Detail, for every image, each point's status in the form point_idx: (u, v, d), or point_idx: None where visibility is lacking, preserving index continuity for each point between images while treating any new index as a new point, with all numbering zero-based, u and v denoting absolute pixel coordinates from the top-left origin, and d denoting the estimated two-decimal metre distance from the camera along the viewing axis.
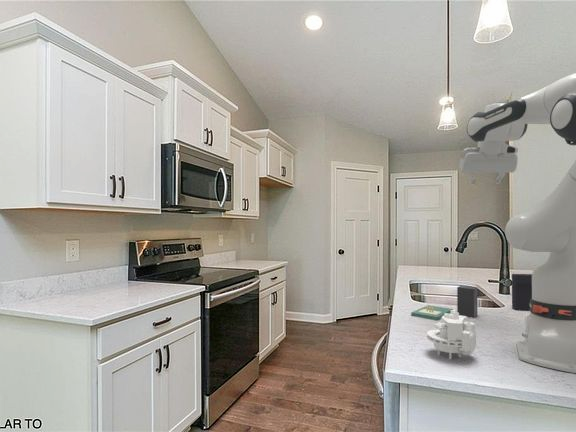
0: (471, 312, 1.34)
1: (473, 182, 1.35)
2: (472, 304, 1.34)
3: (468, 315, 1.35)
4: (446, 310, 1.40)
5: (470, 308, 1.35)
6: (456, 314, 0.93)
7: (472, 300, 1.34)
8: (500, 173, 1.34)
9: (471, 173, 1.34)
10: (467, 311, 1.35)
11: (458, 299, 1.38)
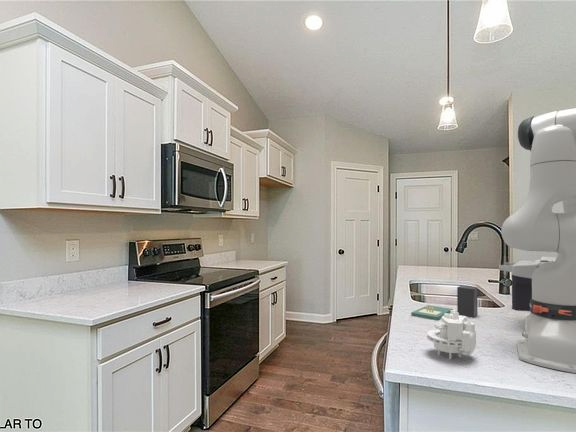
0: (471, 312, 1.34)
1: None
2: (472, 304, 1.34)
3: (468, 315, 1.35)
4: (446, 310, 1.40)
5: (470, 308, 1.35)
6: (456, 314, 0.93)
7: (472, 300, 1.34)
8: None
9: None
10: (467, 311, 1.35)
11: (458, 299, 1.38)
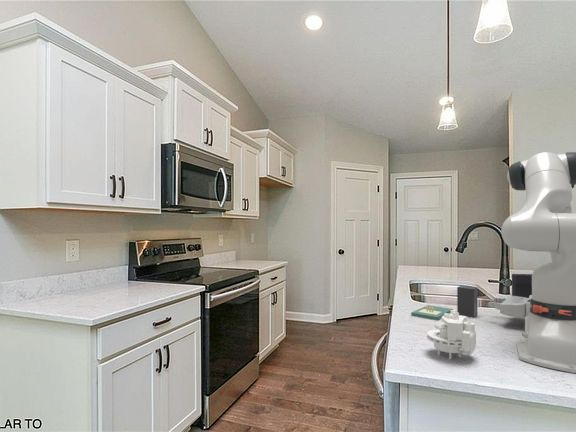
0: (471, 312, 1.34)
1: (495, 298, 1.35)
2: (472, 304, 1.34)
3: (468, 315, 1.35)
4: (446, 310, 1.40)
5: (470, 308, 1.35)
6: (456, 314, 0.93)
7: (472, 300, 1.34)
8: None
9: (507, 298, 1.34)
10: (467, 311, 1.35)
11: (458, 299, 1.38)
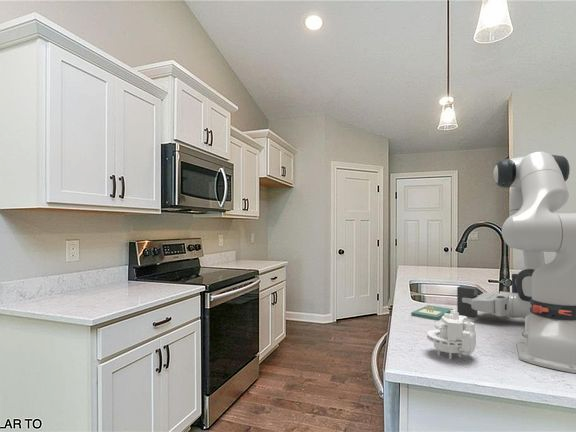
0: (471, 312, 1.34)
1: None
2: None
3: (468, 315, 1.35)
4: (446, 310, 1.40)
5: (470, 308, 1.35)
6: (456, 314, 0.93)
7: None
8: None
9: (479, 295, 1.39)
10: (467, 311, 1.35)
11: (458, 299, 1.38)
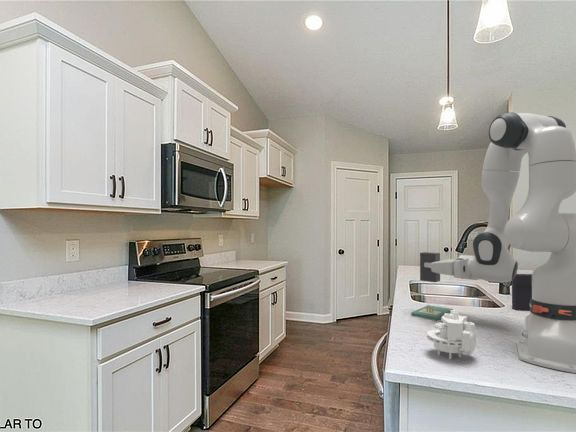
0: (433, 277, 1.35)
1: None
2: None
3: (430, 280, 1.35)
4: (446, 310, 1.40)
5: (432, 273, 1.35)
6: (456, 314, 0.93)
7: None
8: None
9: None
10: (429, 276, 1.36)
11: (421, 264, 1.38)
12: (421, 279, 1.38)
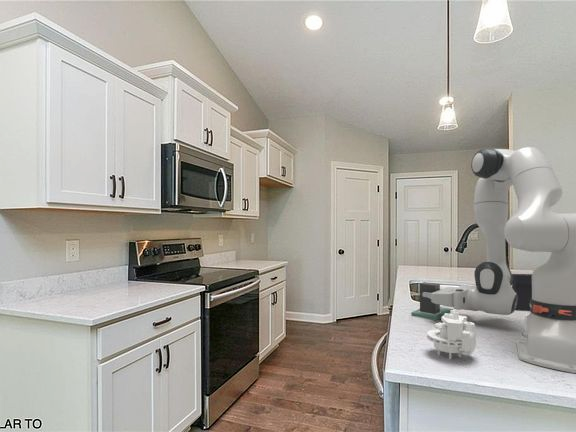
0: (433, 308, 1.34)
1: None
2: None
3: (430, 311, 1.35)
4: (446, 310, 1.40)
5: (432, 304, 1.35)
6: (456, 314, 0.93)
7: None
8: None
9: None
10: (429, 307, 1.35)
11: (420, 295, 1.38)
12: (421, 310, 1.37)
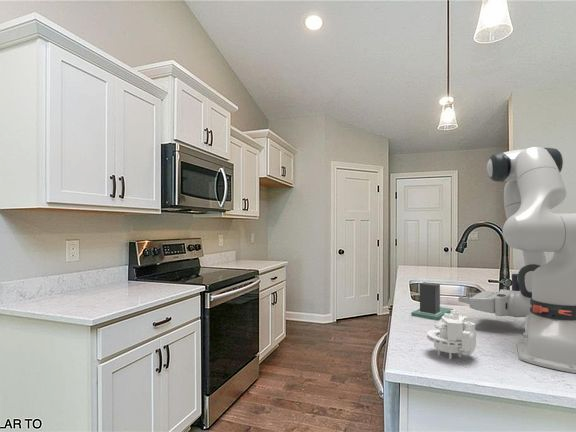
0: (433, 308, 1.34)
1: (468, 293, 1.33)
2: (433, 300, 1.34)
3: (430, 311, 1.35)
4: (446, 310, 1.40)
5: (432, 304, 1.35)
6: (456, 314, 0.93)
7: (434, 296, 1.34)
8: None
9: (479, 293, 1.31)
10: (429, 307, 1.35)
11: (420, 295, 1.38)
12: (421, 310, 1.37)
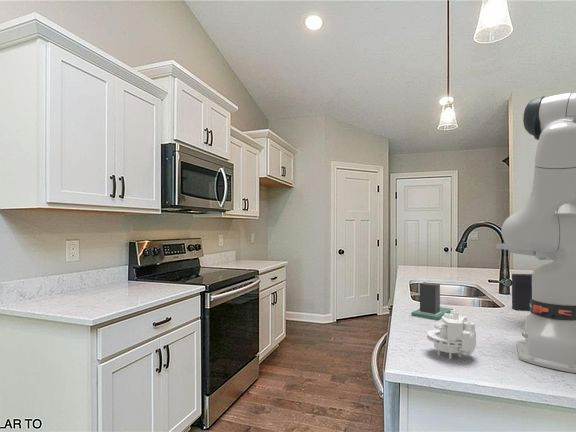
0: (433, 308, 1.34)
1: (503, 243, 1.34)
2: (433, 300, 1.34)
3: (430, 311, 1.35)
4: (446, 310, 1.40)
5: (432, 304, 1.35)
6: (456, 314, 0.93)
7: (434, 296, 1.34)
8: None
9: None
10: (429, 307, 1.35)
11: (420, 295, 1.38)
12: (421, 310, 1.37)
